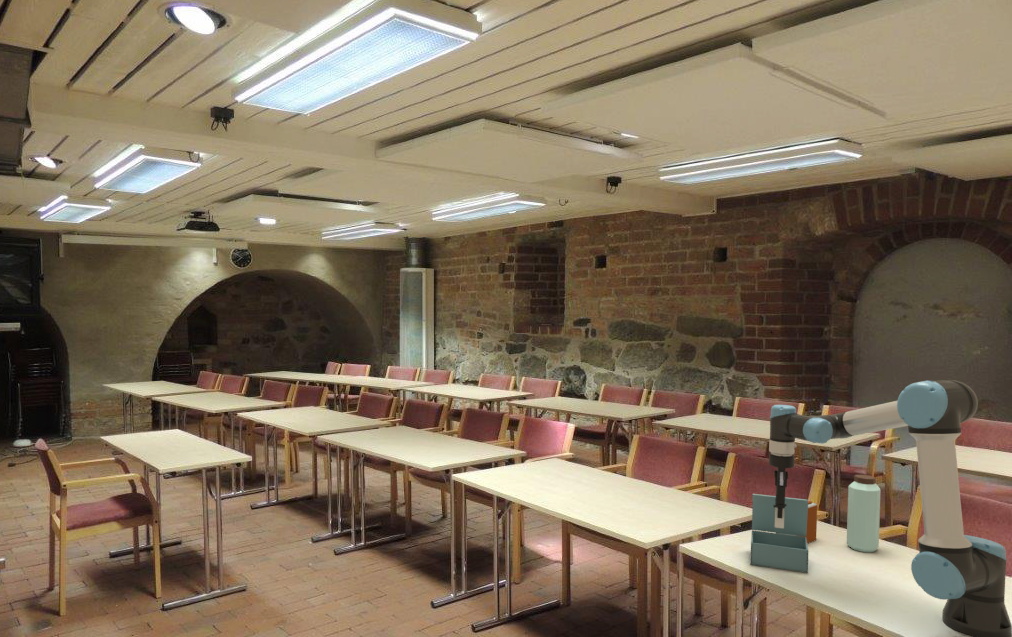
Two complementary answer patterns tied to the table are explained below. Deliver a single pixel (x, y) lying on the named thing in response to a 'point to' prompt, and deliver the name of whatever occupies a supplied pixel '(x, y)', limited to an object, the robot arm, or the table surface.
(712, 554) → the table surface
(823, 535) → the table surface
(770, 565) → the grey-green open box
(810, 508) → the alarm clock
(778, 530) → the lid
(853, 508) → the water bottle
